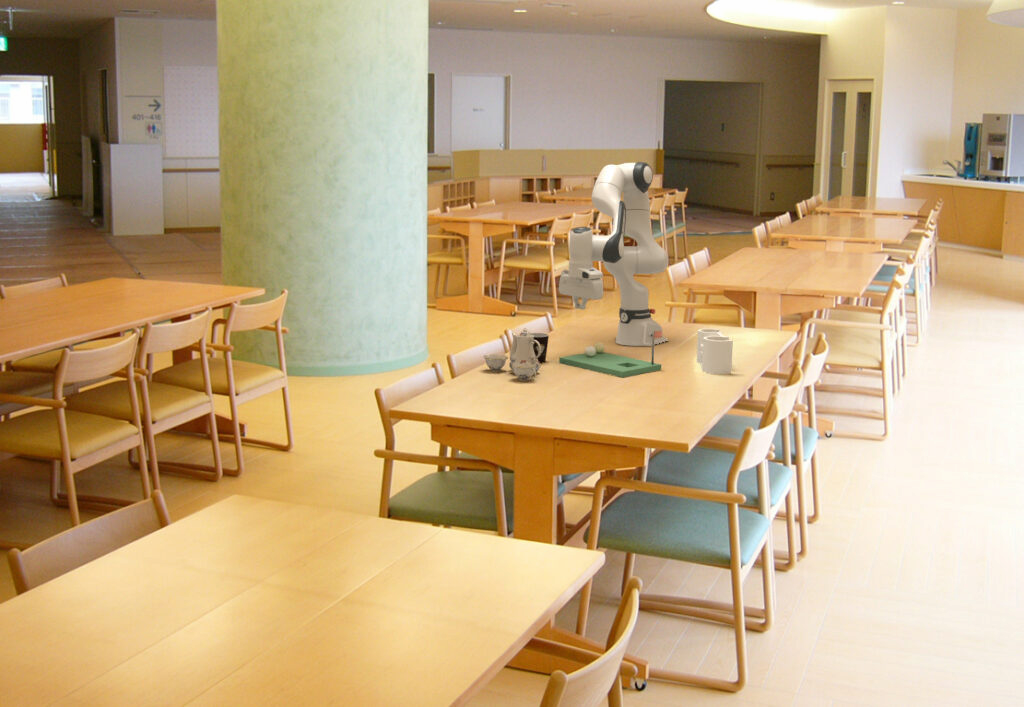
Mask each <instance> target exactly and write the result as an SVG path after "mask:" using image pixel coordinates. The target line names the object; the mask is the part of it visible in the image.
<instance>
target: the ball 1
mask: <svg viewBox="0 0 1024 707" xmlns="http://www.w3.org/2000/svg"><path fill="white" fill-rule="evenodd" d="M584 353H586V355H587V356H589V357H592V356H594V355H595V353H596V349H595V348H594V345H589V346H586V347H585V348H584Z"/></svg>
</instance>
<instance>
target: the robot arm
mask: <svg viewBox="0 0 1024 707" xmlns="http://www.w3.org/2000/svg"><path fill="white" fill-rule="evenodd" d="M653 176H654V174H653V170H652V167H651V166H650V165H649V163H647V162H643V161H637V162H624V163H620V164H617V165H616V164H607V165H605V166H604V167H602V169H601V170H600V172H599V174H598V175H597V177H596V181H595V183H594V186H593V188H592V192H591V203H592V205H593V207H594V208H595V209H596V210H597V211H598V212H600V213H601V214H603V215H605V216H608V217H611V219H613V220H612V229H611V230H612V231H611V234H608V235H602V234H601V235H597V234H593V230H592V228H591V227H587V226H579V227H577V226H576V227H574V228H573V229H571V232H570V236H569V245H568V253H569V260H568V269H563V270H562V271H561V272H560V277H559V283H558V293H559V294H560V295H565V296H572V297H571V298H572V301H573V305H574V309H576V310H578V309H579V310H581V311H582V310H586V308H587V306H586V305H587V303H588V301H589V299H590V300H601V299H602V298H603V296H604V283H603V279H602V278H603V277H604V273H603V272H602V271H601V270H599V269H597V268H596V267H594V266H593V264H594V262H602V263H603V266H604V269H605V270H606V271H607V272H608V273H610V275H612V276H613V277H614V279H615V281H617V284H618V286H619V291H620V293H619V294H620V307H619V311H618V313H619V314H618V315H619V316H618V317H619V321H618V327H617V335H616V337H615V343H616V344H618V345H624V346H629V347H630V346H631V347H634V346H635V347H642V346H643V347H652V331H655V332H656V331H662V337H661V338H655V339H654V346H656V345H655V344H657V345H660V344H663V343H662V342H664V343H666V342H665V341H668V342H669V338H668V337H665V336H663V328H662V326H661V324H659V323H658V322H657V321H656V320H655V319H653V318H652V315H655V314H656V309H655V308H649V295H650V293H649V289H648V287H647V286H646V285H645V284H643V283H642V282H640V281H637V280H636V279H634V275H654V274H660V273H664V271H665V270H666V269H667V267H668V265H669V256H668V253H667V251H666V250H665V249H664V248H663V247H662V246H661V245H660V244H658V242H657V241H656V239H655V238H654V236H653V234H652V229H651V204H650V196H649V191H648V190H649V188H650V187H651V186H652V182H653ZM622 195H623V198H622ZM625 236H627V237H629V238H631V239H632V240H634V241H635V242H636V244H637V245H636V246H632V245H631V246H630V245H629V246H628V245H627V246H625ZM580 298H581V299H580ZM579 299H580V300H581V303H580V302H579V301H580V300H579ZM651 314H652V315H651ZM659 343H660V344H659Z"/></svg>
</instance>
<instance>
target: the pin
mask: <svg viewBox="0 0 1024 707" xmlns="http://www.w3.org/2000/svg"><path fill="white" fill-rule="evenodd" d="M662 333H663V330H662V331H656V332H655V331H652V346H651V359H650V360H651V361H650V362H651V365H654V363H655V345H654V339H655V338H661V337H662Z"/></svg>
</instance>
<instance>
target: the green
mask: <svg viewBox="0 0 1024 707" xmlns="http://www.w3.org/2000/svg"><path fill="white" fill-rule="evenodd" d="M558 361H559V364H563V365H567V366H571V367H575V368H576V367H577V368H579V367H580V369H585V370H588V369H589V370H588V371H592V370H593V371H594V372H596V371H597V373H601V372H602V374H605V373H607V374H606V375H609V374H611V376H614V375H615V376H614V377H618V376H619V378H626V377H627V376H628V377H632V375H633V376H637V375H643V374H647V372H648V373H653V372H657V370H658V371H662V364H661V363H656V362H654V365H651V361H647V360H642V359H637V358H635V357H634V358H632V357H628V356H623V355H618V354H613V353H609V352H606V351H603V352H602V353H597V352H596V353H595V355H594V356H592V357H589V356H587V355H586V353H585V352H583V353H578V354H572V355H567V356H561V357H559V360H558ZM593 371H592V372H593ZM652 371H653V372H652ZM642 373H643V374H642Z"/></svg>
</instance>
